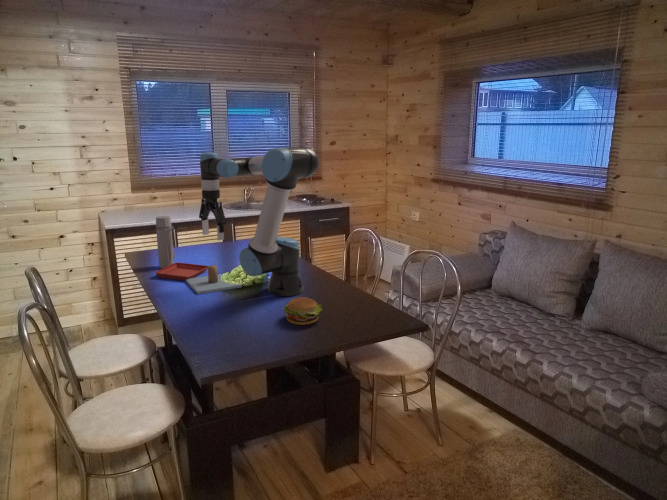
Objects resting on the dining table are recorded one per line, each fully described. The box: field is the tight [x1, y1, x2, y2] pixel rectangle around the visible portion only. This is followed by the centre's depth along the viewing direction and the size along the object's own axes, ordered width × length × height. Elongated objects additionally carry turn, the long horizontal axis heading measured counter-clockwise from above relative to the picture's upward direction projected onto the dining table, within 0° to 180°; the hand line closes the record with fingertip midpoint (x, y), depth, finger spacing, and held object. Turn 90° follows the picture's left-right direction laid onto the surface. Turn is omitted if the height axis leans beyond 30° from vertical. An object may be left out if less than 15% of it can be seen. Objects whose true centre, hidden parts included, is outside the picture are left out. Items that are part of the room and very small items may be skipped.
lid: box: [185, 264, 243, 295], centre depth 220 cm, size 19×19×8 cm
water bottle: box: [155, 215, 175, 269], centre depth 244 cm, size 9×8×25 cm
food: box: [282, 296, 324, 326], centre depth 185 cm, size 14×14×8 cm
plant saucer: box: [154, 261, 209, 282], centre depth 235 cm, size 18×18×3 cm
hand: (213, 237), depth 223 cm, fingers open, 13 cm apart
